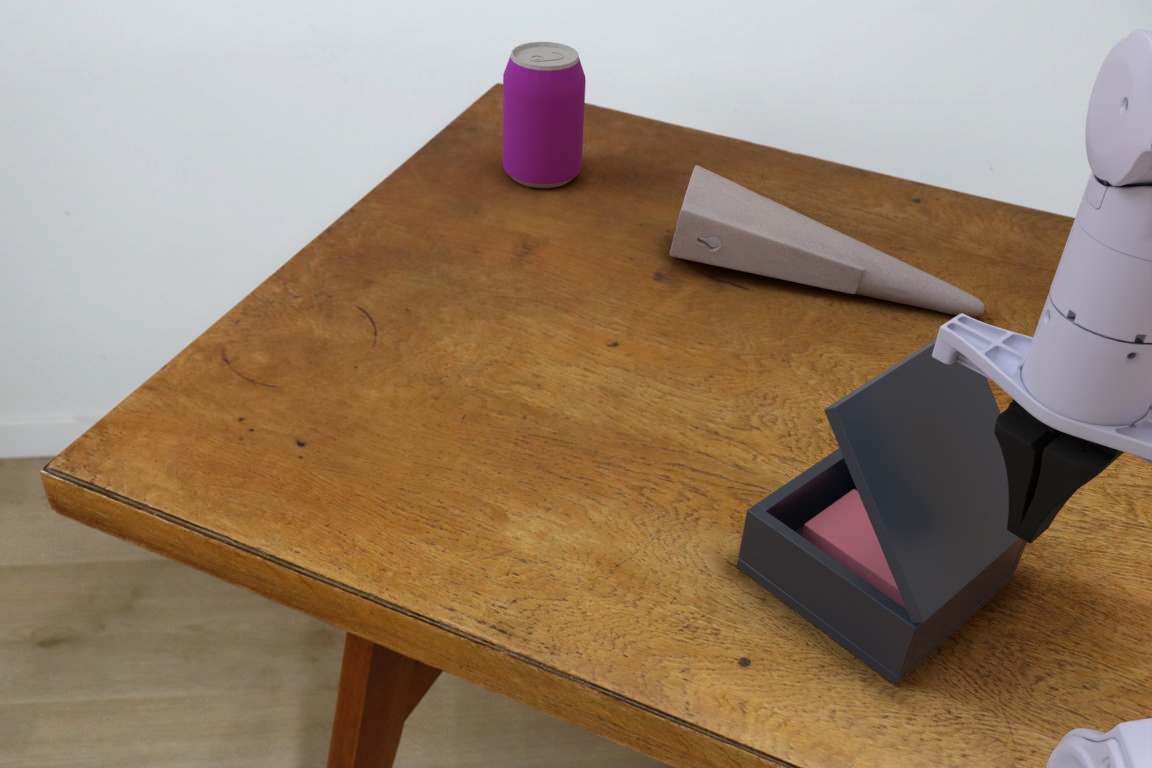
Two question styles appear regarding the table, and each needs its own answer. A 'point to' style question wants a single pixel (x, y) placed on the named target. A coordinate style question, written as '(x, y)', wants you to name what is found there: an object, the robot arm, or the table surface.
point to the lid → (928, 474)
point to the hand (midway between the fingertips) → (1027, 528)
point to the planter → (798, 248)
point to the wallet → (852, 542)
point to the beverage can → (543, 114)
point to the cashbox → (850, 578)
